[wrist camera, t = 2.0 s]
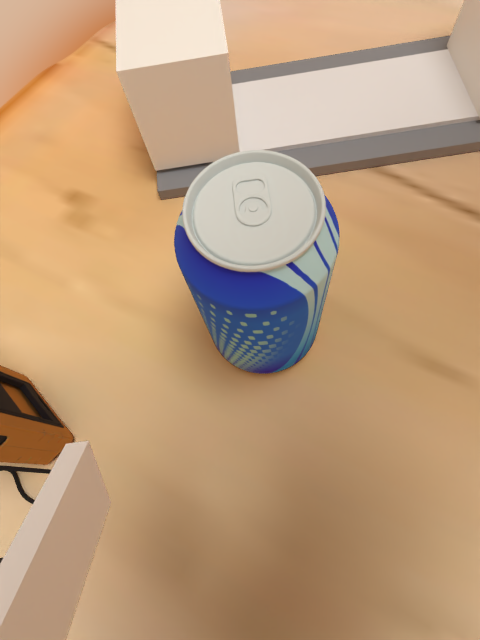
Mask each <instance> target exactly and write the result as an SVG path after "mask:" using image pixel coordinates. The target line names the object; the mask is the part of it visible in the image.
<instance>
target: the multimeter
mask: <svg viewBox="0 0 480 640" xmlns="http://www.w3.org/2000/svg"><path fill="white" fill-rule="evenodd" d="M72 441H73V435H72V434H71V432H70V431H69V430H68V428H66V427H65V425H64V424H63V423H62V422H61V420H60V419H59V418H58V417H57V415H56V414H55V413H54V411H53V410H52V409H51V408H50V406H49V405H48V404H47V402H46V401H45V400H44V399H43V397H42V396H41V395H40V394H39V392H38V391H37V390H36V388H35V387H34V385H33V384H32V383H31V381H30V380H29V379H28V378H27V377H26V376H24V375H22V374H19V373H17V372H15V371H12V370H10V369H8V368H5V367H3V366H1V365H0V462H8V463H28V464H43V465H46V464H48V463H49V462H50V461H51V460H53V459H54V458H55V457H56V456H57V455H58V454H59V453H60V452H61V451H62V450H63V448H64V446H65V444H68V443H71V442H72ZM2 470H5V471H9V472H11V474H12V475H13V477H14V480H15V482H16V485H17V488H18V490H19V492H20V494H21V496H22V497H23V498H24V499H25V500H27V501H28V502H30V503H32V504H33V503H34V501H35V500H33V499H31V498H30V497H28V496H27V495H26V494H25V493H24V491H23V489H22V487H21V484H20V482H19V479H18V476H17V474H16V472H15V471H22V472H36V473H50V472H51V470H49V469H37V468H25V467H12V466H0V471H2Z"/></svg>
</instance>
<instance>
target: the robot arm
mask: <svg viewBox="0 0 480 640" xmlns="http://www.w3.org/2000/svg"><path fill="white" fill-rule="evenodd" d="M110 505H111V501H110V498H109V495H108V493H107V490H106V487H105V484H104V482H103V479H102V476H101V473H100V471H99V468H98V465H97V462H96V460H95V457H94V454H93V451H92V449H91V446H90V443H89V441H83V442H75V443H68V444H65V446H64V448H63V450H62V452H61V453H60V455H59V457H58V459H57V461H56V463H55V464H54V466H53V468H52V470H51V472H50V474H49V475H48V477H47V479H46V481H45V483H44V485H43V486H42V488H41V490H40V492H39V494H38V496H37V497H36V499H35V501H34V503H33V505H32V507H31V508H30V510H29V512H28V514H27V516H26V518H25V519H24V521H23V523H22V525H21V527H20V529H19V530H18V532H17V534H16V536H15V538H14V540H13V541H12V543H11V545H10V547H9V549H8V551H7V552H6V554H5V556H4V558H0V640H66V638H67V635H68V632H69V629H70V626H71V623H72V620H73V617H74V614H75V611H76V608H77V605H78V602H79V599H80V596H81V592H82V589H83V586H84V583H85V580H86V577H87V574H88V571H89V568H90V565H91V562H92V559H93V556H94V553H95V550H96V547H97V544H98V541H99V538H100V535H101V532H102V529H103V526H104V523H105V520H106V517H107V514H108V511H109V508H110Z"/></svg>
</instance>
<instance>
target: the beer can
mask: <svg viewBox="0 0 480 640" xmlns="http://www.w3.org/2000/svg"><path fill="white" fill-rule="evenodd" d="M174 246H175V253H176V258H177V261H178V264H179V267H180V269H181V272H182V274H183V276H184V278H185V280H186V282H187V285H188V287H189V289H190V291H191V293H192V295H193V298H194V300H195V302H196V304H197V306H198V308H199V311H200V313H201V315H202V317H203V319H204V322H205V324H206V326H207V328H208V330H209V332H210V335H211V337H212V339H213V341H214V343H215V345H216V347H217V349H218V350H219V352H220V353H221V354H222V356H223V357H224V358H225V359H226V360H228V361H229V362H230V363H231V364H233V365H234V366H236V367H238V368H240V369H242V370H245V371H248V372H253V373H263V374H266V373H274V372H278V371H282V370H284V369H287V368H289V367H291V366H292V365H294V364H296V363H297V362H298V361H299V360H301V359H302V358H303V357H304V356H305V355H306V353H307V352H308V351H309V349H310V348H311V346H312V344H313V342H314V340H315V336H316V333H317V329H318V325H319V322H320V318H321V314H322V310H323V306H324V303H325V299H326V295H327V291H328V287H329V283H330V280H331V276H332V272H333V268H334V264H335V261H336V257H337V253H338V248H339V226H338V221H337V218H336V215H335V212H334V210H333V207H332V206H331V204H330V202H329V200H328V199H327V198H326V196H325V195H324V192H323V189H322V187H321V185H320V183H319V181H318V179H317V178H316V177H315V175H314V174H313V173H312V172H311V171H310V170H309V169H308V168H307V167H306V166H305V165H303V164H302V163H301V162H299V161H297V160H296V159H294V158H292V157H290V156H287V155H285V154H282V153H278V152H273V151H267V150H249V151H242V152H237V153H233V154H230V155H227V156H225V157H223V158H220V159H218V160H217V161H215V162H213V163H212V164H210V165H209V166H207V167H206V168H205V169H204V170H203V171H201V172H200V173H199V174H198V176H197V177H196V178H195V179H194V181H193V182H192V183H191V185H190V187H189V189H188V191H187V193H186V196H185V198H184V203H183V209H182V212H181V214H180V216H179V219H178V222H177V226H176V230H175V238H174Z"/></svg>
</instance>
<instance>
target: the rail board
mask: <svg viewBox="0 0 480 640" xmlns="http://www.w3.org/2000/svg"><path fill="white" fill-rule="evenodd" d="M116 72H117V75H118V77H119V80H120V82H121V85H122V87H123V90H124V92H125V95H126V97H127V100H128V103H129V105H130V108H131V110H132V113H133V115H134V118H135V120H136V123H137V125H138V128H139V130H140V133H141V136H142V138H143V141H144V143H145V146H146V148H147V151H148V153H149V156H150V158H151V161H152V164H153V166H154V169H155V171H157V187H158V193H159V196H160V198H161V200H163V199H169V198H176V197H182V196H186V193H187V191H188V189H189V187H190V185H191V183H192V182H193V181H194V179H195V178H196V177H197V176H198V174H199V173H200V172H201V171H203V170H204V169H205V168H206V167H207V166H209V165H210V164H212V163H213V162H215V161H217V160H218V159H220V158H223V157H225V156H227V155H230V154H233V153H237V152H242V151H249V150H267V151H273V152H278V153H282V154H285V155H287V156H290V157H292V158H294V159H296V160H297V161H299V162H301V163H302V164H303V165H305V166H306V167H307V168H308V169H309V170H310V171H311V172H312V173H313V174H314V175H315V176H319V175H325V174H332V173H338V172H345V171H351V170H358V169H364V168H371V167H377V166H384V165H390V164H397V163H403V162H410V161H416V160H423V159H429V158H436V157H442V156H449V155H455V154H462V153H468V152H475V151H480V0H464V2H463V5H462V7H461V10H460V13H459V15H458V18H457V20H456V23H455V25H454V28H453V31H452V33H451V36H445V37H439V38H433V39H426V40H420V41H414V42H408V43H402V44H396V45H390V46H384V47H378V48H372V49H366V50H359V51H353V52H347V53H341V54H335V55H329V56H323V57H317V58H311V59H305V60H298V61H292V62H286V63H280V64H274V65H268V66H262V67H256V68H250V69H244V70H237V71H231V72H230V64H229V56H228V49H227V42H226V36H225V30H224V23H223V17H222V11H221V4H220V0H116Z"/></svg>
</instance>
